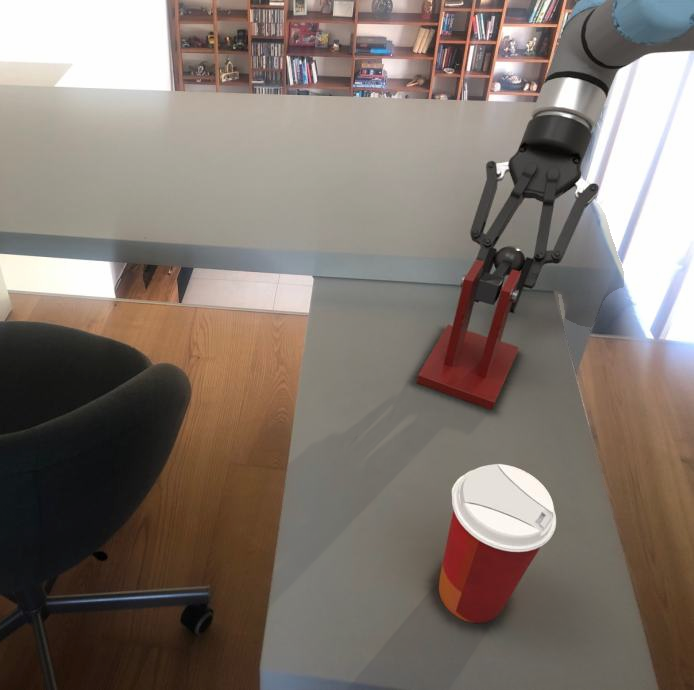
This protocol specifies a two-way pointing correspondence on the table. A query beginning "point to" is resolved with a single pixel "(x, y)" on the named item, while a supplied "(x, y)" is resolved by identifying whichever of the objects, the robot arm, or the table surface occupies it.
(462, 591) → the paper cup
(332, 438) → the table surface
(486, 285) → the lever
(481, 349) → the bracket
